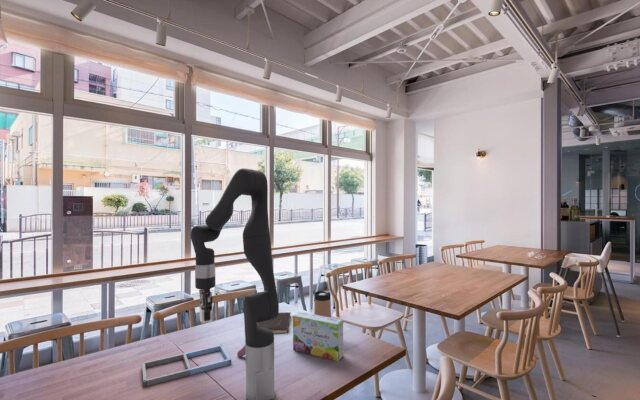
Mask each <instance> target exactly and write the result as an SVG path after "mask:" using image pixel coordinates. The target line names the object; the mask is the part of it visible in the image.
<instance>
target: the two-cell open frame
mask: <svg viewBox="0 0 640 400" xmlns="http://www.w3.org/2000/svg"><path fill="white" fill-rule="evenodd" d="M215 352H220V353H221V354H222V356H223V358H224V360H218V361H215V362H210V363H207V364H203V365H199V366H194V367H192V366H191V364H190V361H189V359H188V358H193V357H197V356H203V355H207V354H211V353H215ZM180 360H183V362H184V365H185V368H186V369H183V370H180V371H179V370H178V371H175V372H171V373H167V374H163V375H160V376H155V377H151V378H147V370H146V368H151V367H156V366H159V365H163V364H168V363H172V362H177V361H180ZM229 365H232V359H231V357H230V355H229V354H228V352H227V350H226V349H225V347H224V346H223V344H218V345H214V346H210V347H206V348H205V347H204V348H201V349H196V350H192V351H189V352H188V351H187V352H183V353H180V354H176V355H175V354H174V355H171V356H170V355H169V356H167V357H166V356H165V357H162V358H158V359H154V360H148V361H144V362H141V370H142V383H143V384H142V385H143V388H145V387H149V386H154V385H156V384H159V383H164V382H168V381H172V380H175V379H180V378H182V377H187V376H191V375H195V374H200V373H202V372H207V371H211V370H214V369H218V368H221V367H226V366H229Z"/></svg>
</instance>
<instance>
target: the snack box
mask: <svg viewBox="0 0 640 400" xmlns="http://www.w3.org/2000/svg"><path fill="white" fill-rule="evenodd" d="M292 348H293V351H295V352H296V351H297V352H301V353H304V354H307V355H311V356H316V357H320V358H323V359H327V360H330V359H331V361H334V360H335V362H340V360H341V359H342V358H343V357H344V320H343V319H341V318H340V319H338V318H335V317H331V318H330V317H324V316H319V315H314V314H313V313H307V312H302V311H298V312H296V313H294V314H293V315H292Z"/></svg>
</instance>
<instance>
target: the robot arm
mask: <svg viewBox="0 0 640 400" xmlns="http://www.w3.org/2000/svg"><path fill="white" fill-rule="evenodd" d="M268 186H269V185H268V179H267V176H266V174H265V173H264V172H263V171H260V170H256V169H252V168H245V167H242V168H240V169H237V170H236V172H235V173H234V174H233V175H232V177H231V178H230V180H229V182H228V183H227V186H226V188H225V190H224V192H223V193H222V196H221V197H220V199H219V201H218V202H217V203H216V205H215V206H214V207H213V209H212V210H211V211H210V212H209V213H208V215H207V216H206V218H205V224H197V225H194V226H192V228H191V231H190V241H191V244H192V246H193V250H194V252H195V253H194V255H195V269H194V283H195V284H194V285H195V289H197V290H198V291H199V306H200V305H203V306H204V321H209V320H210V311H211V310H212V311H213V299H214V297H213V292H212V291H211V289H213V288H215V287H216V266H215V250H214V249H213V248H210V247H207V246H206V245H205V243H210V242H215V241H216V240H217V239H219V236H220V235H221V232H222V230H223V228H224V226H225V225H226V224H227V223H228V222H229V220H230V219H231V218H232V216H233V213H234V203H235V201H237V199H238V198H239V197H240V196H250V199H251V210H250V211H251V212H250V215H249V217H248V219H247V221H246V224H245V226H244V228H243V232H242V242H243V246H242V247H243V253H244V256H245V258H246V259H247V261H248V262H249V263H250V265H251V266H252V267H253V269H254V270H255V271H256V272H257V274H258V276H259V277H260V280H261V282H262V285H263V291H257V292H252V293H248V294H246V295H244V297H243V298H244V299H243V308H242V309H243V320H244V321H243V323H244V337H245V342H244V343H245V344H244V346H246V354H245V393H246V394H245V397H246V399H247V400H273V399H275V392H276V391H275V390H276V389H275V385H276V383H275V335H274V334H275V333H273V331H272V330H270V329H267V328H262V327H258V326H257V322H262V321H267V320H272V319H275V318H276V317H277V316H278V313H280V312H279V311H280V309H279V307H280V305H279V297H278V292H277V286H276V280H275V273H274V265H273V253H272V241H271V231H270V225H269V209H268V207H269V206H268V202H269V201H268V200H269V199H268V197H269V195H268V194H269V189H268ZM207 306H209V308H207Z"/></svg>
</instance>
